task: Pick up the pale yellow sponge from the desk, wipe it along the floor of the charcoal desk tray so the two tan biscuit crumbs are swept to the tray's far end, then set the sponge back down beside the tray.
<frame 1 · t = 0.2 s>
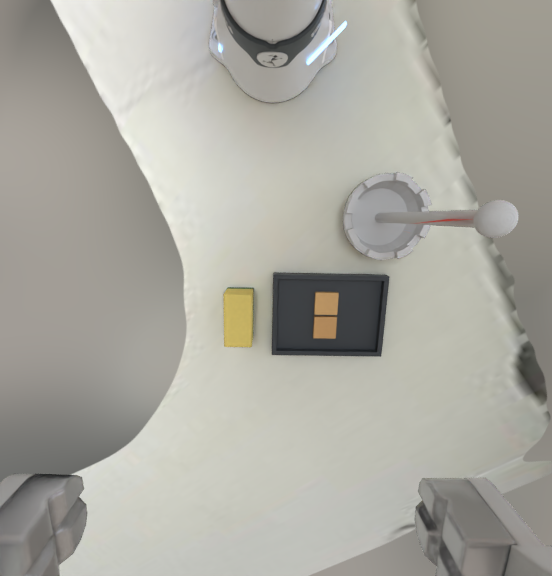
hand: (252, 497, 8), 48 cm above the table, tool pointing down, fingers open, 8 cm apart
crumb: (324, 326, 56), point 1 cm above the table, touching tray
tray: (327, 313, 56), on the table
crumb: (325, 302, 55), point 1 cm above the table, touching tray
sponge: (240, 312, 56), on the table
flag stand: (377, 217, 53), on the table
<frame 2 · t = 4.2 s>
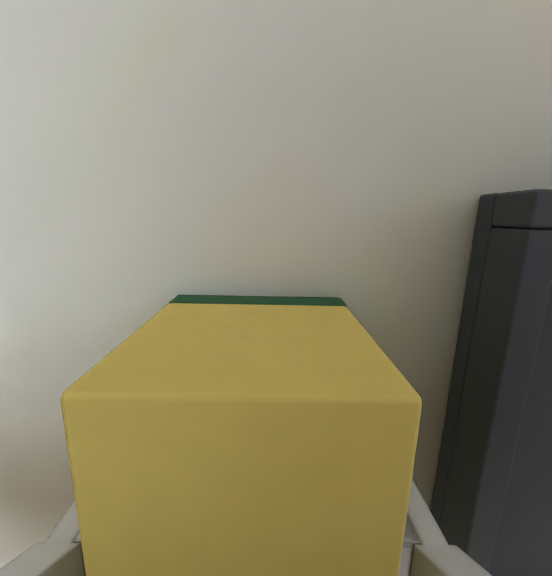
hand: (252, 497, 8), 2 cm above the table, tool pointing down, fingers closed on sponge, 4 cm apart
sponge: (257, 437, 10), on the table, touching gripper
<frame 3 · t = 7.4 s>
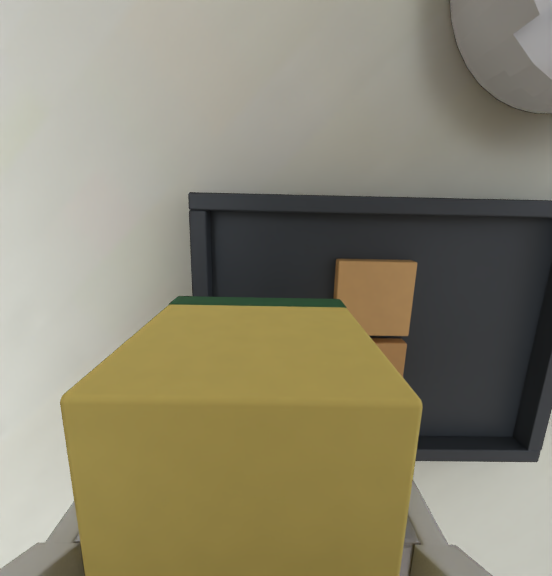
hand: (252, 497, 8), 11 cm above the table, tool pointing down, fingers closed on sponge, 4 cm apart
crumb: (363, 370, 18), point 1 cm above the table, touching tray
tray: (372, 330, 18), on the table
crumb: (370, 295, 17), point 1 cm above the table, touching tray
sponge: (258, 438, 10), point 9 cm above the table, touching gripper
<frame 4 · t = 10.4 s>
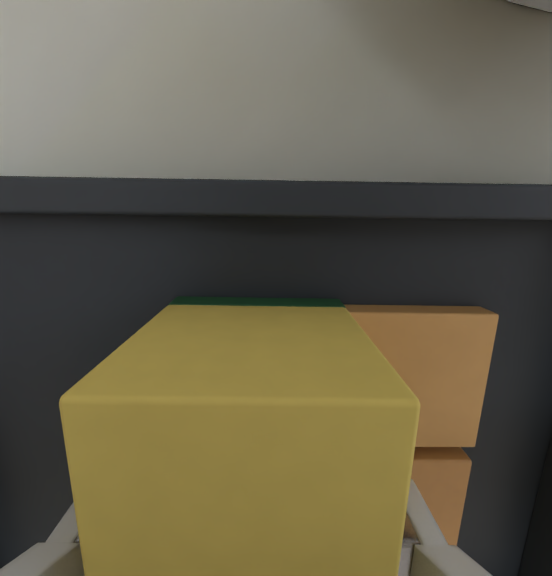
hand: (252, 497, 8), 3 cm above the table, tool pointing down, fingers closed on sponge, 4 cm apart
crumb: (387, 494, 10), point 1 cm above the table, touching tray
tray: (262, 421, 10), on the table
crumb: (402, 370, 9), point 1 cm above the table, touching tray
sponge: (257, 438, 10), point 1 cm above the table, touching gripper
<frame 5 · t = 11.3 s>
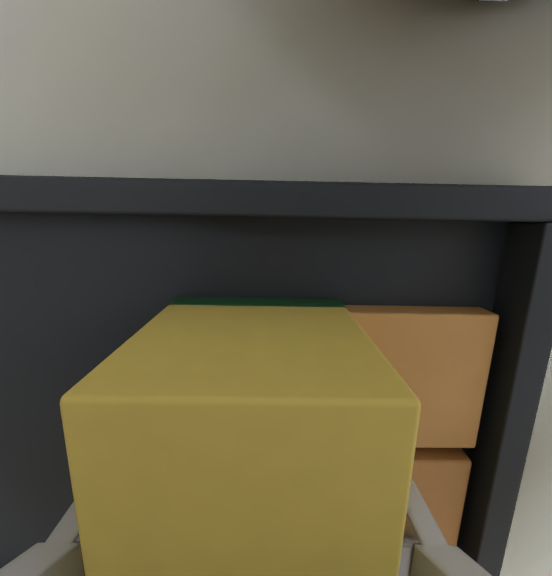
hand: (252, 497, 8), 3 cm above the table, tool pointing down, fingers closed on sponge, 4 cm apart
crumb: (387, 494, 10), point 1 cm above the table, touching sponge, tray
tray: (184, 420, 10), on the table
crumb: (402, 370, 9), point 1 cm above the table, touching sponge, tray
sponge: (257, 438, 10), point 1 cm above the table, touching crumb, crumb, gripper
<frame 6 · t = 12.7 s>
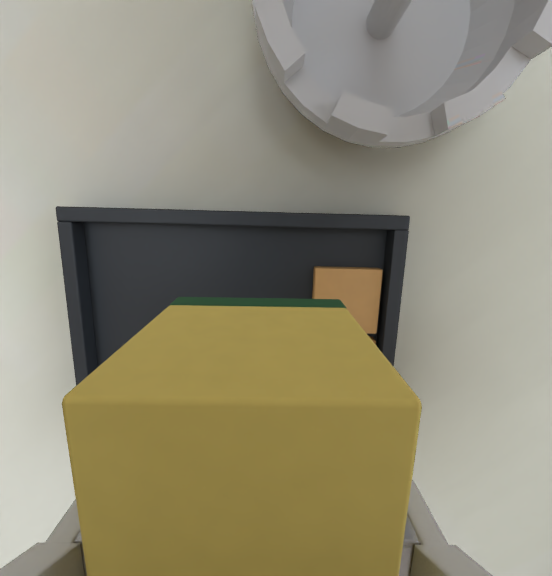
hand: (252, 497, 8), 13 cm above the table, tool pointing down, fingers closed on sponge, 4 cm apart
tray: (237, 326, 21), on the table
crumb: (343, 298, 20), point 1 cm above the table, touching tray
sponge: (258, 438, 10), point 11 cm above the table, touching gripper
flag stand: (373, 34, 17), on the table
when the fingers open (2 cm above the table, at t = 17.5 s): sponge stays where it is, on the table.
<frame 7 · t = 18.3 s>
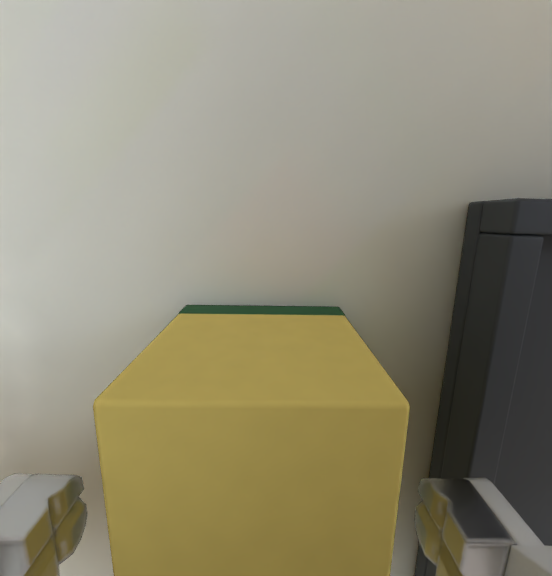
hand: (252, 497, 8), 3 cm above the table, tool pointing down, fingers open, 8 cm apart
sponge: (262, 438, 10), on the table
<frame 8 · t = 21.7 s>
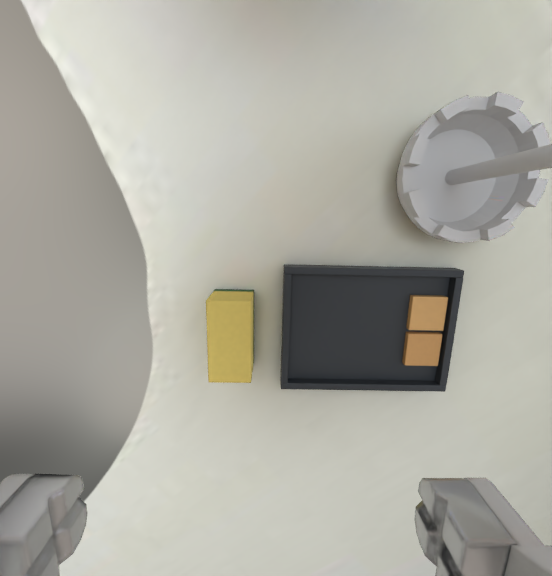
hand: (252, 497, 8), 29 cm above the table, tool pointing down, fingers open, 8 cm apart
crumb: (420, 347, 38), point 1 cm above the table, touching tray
tray: (364, 326, 37), on the table
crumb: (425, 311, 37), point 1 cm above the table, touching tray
sponge: (234, 326, 37), on the table
flag stand: (446, 178, 34), on the table
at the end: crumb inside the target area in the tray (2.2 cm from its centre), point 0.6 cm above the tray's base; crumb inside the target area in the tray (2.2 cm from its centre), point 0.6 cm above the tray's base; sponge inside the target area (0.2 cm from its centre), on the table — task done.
